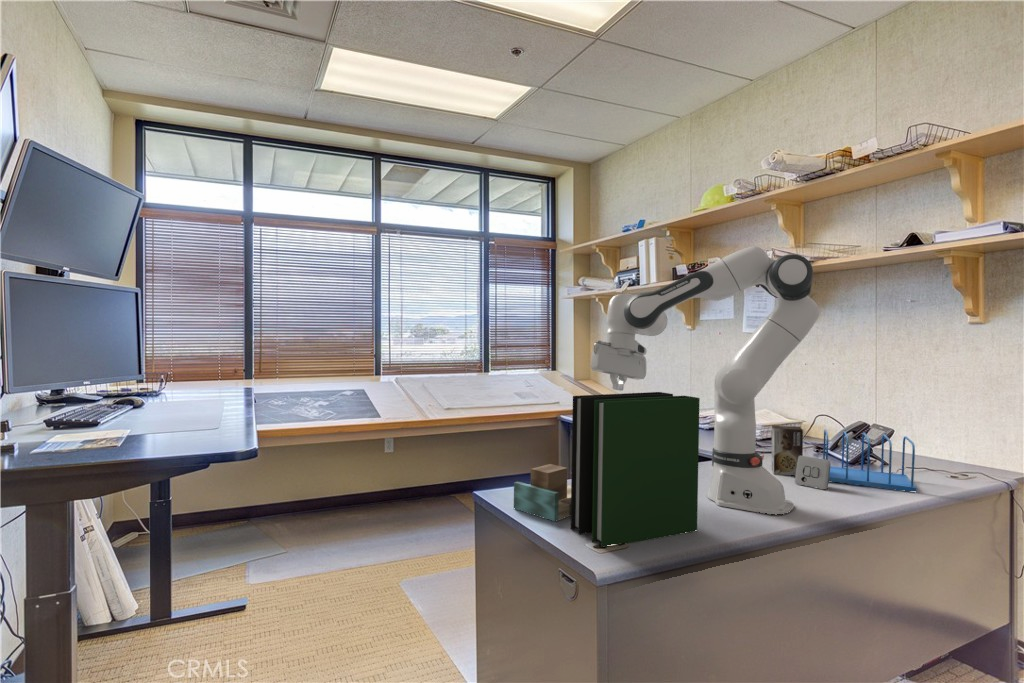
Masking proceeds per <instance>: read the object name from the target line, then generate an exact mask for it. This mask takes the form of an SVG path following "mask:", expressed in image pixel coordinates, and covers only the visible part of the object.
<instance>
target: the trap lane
mask: <svg viewBox="0 0 1024 683" xmlns="http://www.w3.org/2000/svg"><path fill="white" fill-rule="evenodd" d="M514 508H515V509H514ZM513 509H514V510H516V509H518V510H517V511H519V510H521V511H520V512H522V511H525V512H528V513H527V514H529V513H531V514H530V515H532V514H535V515H538V516H541V517H544V518H547V519H550V520H549V521H551V520H553V521H552V522H554V521H555V522H557V521H556V520H558V521H560V520H563V519H565V518H564V517H566V518H567V516H568V517H571V516H570V515H571V485H570V484H569V485H568V484H567V498H564V499H562V500H559V492H555V491H551V490H548V489H544V488H540V487H536V486H533V485H531V484H528V483H525V482H522V481H515V482H513ZM525 512H524V513H525ZM535 515H534V516H535ZM538 516H537V517H538ZM541 517H540V518H541ZM544 518H543V519H544ZM562 518H563V519H562ZM547 519H546V520H547ZM559 519H560V520H559Z"/></svg>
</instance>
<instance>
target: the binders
mask: <svg viewBox="0 0 1024 683" xmlns="http://www.w3.org/2000/svg"><path fill="white" fill-rule="evenodd" d="M700 400H701V399H700V397H698V396H697V397H695V396H688V395H674V394H673V393H670V392H661V391H653V392H652V391H650V392H648V391H647V392H628V393H609V394H608V393H607V394H585V395H572V423H571V424H572V426H571V428H572V429H571V430H572V431H571V432H572V433H571V477H570V478H571V484H570V486H571V516H570V530H571V529H572V530H575V528H577V529H578V530H577V531H578V532H577V534H578V535H583V533H584V534H588V533H591V543H593V542H594V543H599V542H600V548H601V547H603V546H607V545H611V544H619V543H627V544H632V543H638V542H644V541H649V539H650V540H655V539H654V538H656V539H660V538H659V537H661V538H665V537H664V536H667V537H670V536H669V535H673V536H676V534H678V535H681V534H680V533H684V534H686V533H685V532H690V531H695V530H697V531H698V508H699V507H698V500H699V499H698V498H699V497H698V496H699V449H700V448H699V447H700V446H699V445H700V443H699V442H700V402H701V401H700ZM695 532H696V531H695ZM690 533H691V532H690ZM598 541H599V542H598Z"/></svg>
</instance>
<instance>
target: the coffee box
mask: <svg viewBox="0 0 1024 683" xmlns="http://www.w3.org/2000/svg"><path fill="white" fill-rule="evenodd" d="M803 437H804V429H803V428H802V427H801V426H797V425H796V426H794V425H793V426H792V425H775V424H772V425H771V465H770V466H771V468H770V469H771V473H772V475H778V474H779V475H778V476H791V475H794V477H796V469H797V462H798V457H799V456H804V454H803V451H804V448H803V447H804V446H803V445H804V442H803V441H804V440H803V439H804V438H803Z"/></svg>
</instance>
